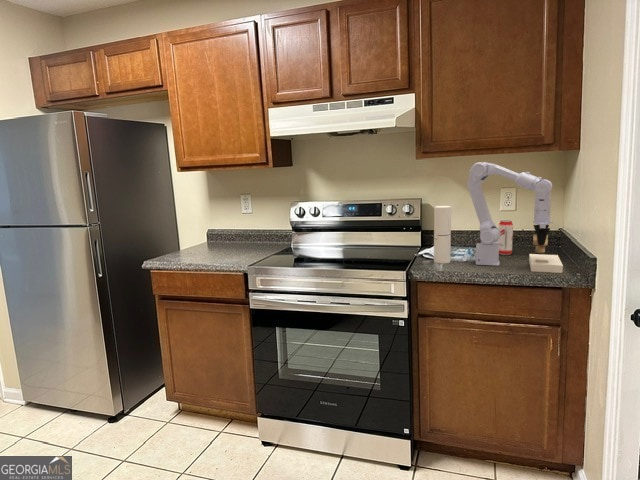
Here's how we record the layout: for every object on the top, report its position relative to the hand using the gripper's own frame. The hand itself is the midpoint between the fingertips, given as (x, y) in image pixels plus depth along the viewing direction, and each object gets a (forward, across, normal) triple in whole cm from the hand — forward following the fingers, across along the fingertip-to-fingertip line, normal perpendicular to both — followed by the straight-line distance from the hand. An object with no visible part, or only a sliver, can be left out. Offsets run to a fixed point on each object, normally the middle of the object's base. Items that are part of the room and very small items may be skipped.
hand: (540, 243), depth 175 cm
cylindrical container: (+10, +3, +39) cm, 41 cm away
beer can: (+11, +26, +14) cm, 31 cm away
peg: (+3, 0, 0) cm, 4 cm away
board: (+10, +5, -2) cm, 12 cm away
